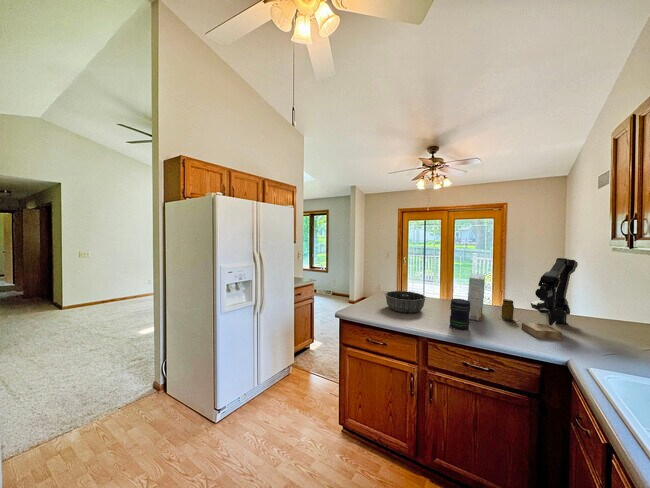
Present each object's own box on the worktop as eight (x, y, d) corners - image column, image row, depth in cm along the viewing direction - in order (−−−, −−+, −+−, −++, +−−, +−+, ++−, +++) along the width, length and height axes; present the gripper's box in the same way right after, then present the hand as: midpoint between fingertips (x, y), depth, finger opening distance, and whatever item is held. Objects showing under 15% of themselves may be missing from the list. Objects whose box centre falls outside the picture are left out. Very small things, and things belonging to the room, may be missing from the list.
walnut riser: (545, 331, 144) (545, 323, 144) (561, 340, 133) (562, 332, 132) (521, 329, 146) (521, 322, 146) (535, 338, 134) (536, 330, 134)
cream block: (548, 325, 152) (549, 313, 152) (555, 328, 147) (556, 315, 147) (538, 324, 153) (539, 312, 152) (545, 327, 148) (546, 315, 147)
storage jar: (446, 327, 147) (448, 300, 146) (452, 322, 154) (453, 297, 153) (466, 332, 140) (467, 304, 139) (471, 327, 147) (472, 301, 146)
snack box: (482, 322, 156) (484, 279, 155) (465, 319, 161) (468, 277, 159) (483, 312, 175) (485, 274, 173) (468, 310, 179) (470, 272, 178)
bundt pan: (379, 304, 190) (380, 290, 190) (414, 303, 193) (414, 290, 193) (392, 316, 164) (393, 300, 163) (432, 315, 167) (433, 299, 166)
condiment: (502, 316, 167) (503, 298, 166) (518, 320, 161) (519, 301, 160) (498, 318, 163) (499, 299, 162) (514, 322, 156) (516, 303, 155)
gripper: (523, 292, 159) (521, 317, 160) (545, 300, 141) (543, 328, 141) (543, 293, 158) (541, 318, 159) (568, 301, 139) (565, 330, 140)
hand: (547, 323), depth 150 cm, fingers closed on cream block, 5 cm apart
